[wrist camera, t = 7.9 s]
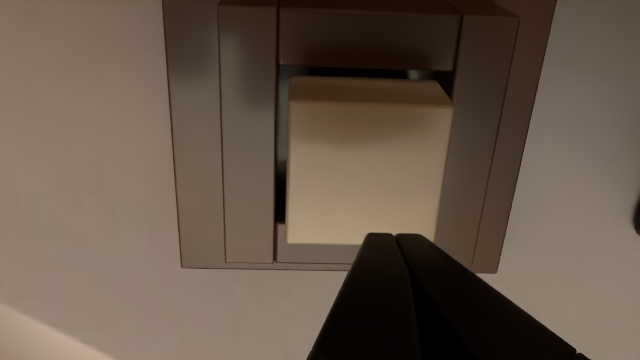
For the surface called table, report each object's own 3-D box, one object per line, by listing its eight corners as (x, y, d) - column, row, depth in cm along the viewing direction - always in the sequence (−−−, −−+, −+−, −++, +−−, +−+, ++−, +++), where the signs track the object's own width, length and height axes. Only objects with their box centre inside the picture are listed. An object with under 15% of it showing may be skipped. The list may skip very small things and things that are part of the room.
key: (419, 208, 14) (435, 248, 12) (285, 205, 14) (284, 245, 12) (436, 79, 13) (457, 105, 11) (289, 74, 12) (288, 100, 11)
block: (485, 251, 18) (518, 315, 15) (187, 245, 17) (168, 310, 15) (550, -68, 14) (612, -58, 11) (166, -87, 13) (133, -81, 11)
